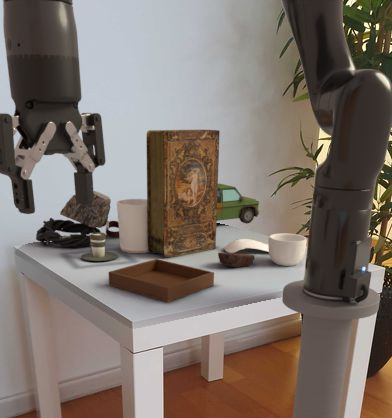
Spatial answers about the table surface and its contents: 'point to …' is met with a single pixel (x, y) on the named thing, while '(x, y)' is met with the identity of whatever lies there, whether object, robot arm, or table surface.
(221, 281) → the table surface
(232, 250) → the computer mouse
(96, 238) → the olive disc with post
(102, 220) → the stone block
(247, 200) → the toy truck
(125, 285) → the tray
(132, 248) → the mug
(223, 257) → the stone
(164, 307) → the table surface
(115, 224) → the watch
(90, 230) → the cable
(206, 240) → the book
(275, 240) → the teacup
